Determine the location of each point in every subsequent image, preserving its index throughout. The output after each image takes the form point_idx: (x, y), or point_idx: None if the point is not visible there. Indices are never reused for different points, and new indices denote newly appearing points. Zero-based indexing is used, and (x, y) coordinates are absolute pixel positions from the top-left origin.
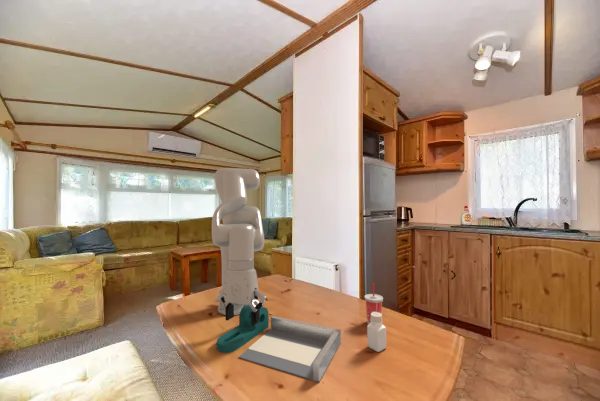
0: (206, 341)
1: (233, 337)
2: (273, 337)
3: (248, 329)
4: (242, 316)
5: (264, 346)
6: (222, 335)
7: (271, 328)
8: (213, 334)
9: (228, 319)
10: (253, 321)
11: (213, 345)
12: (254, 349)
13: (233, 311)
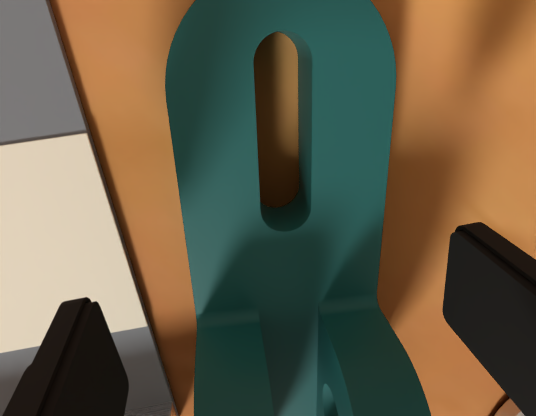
0: (497, 29)
1: (305, 169)
2: None
3: (254, 298)
4: (370, 368)
5: (2, 229)
6: (387, 106)
7: (167, 405)
8: (510, 138)
9: (452, 244)
10: (51, 341)
11: (399, 17)
12: (26, 153)
13: (481, 359)
